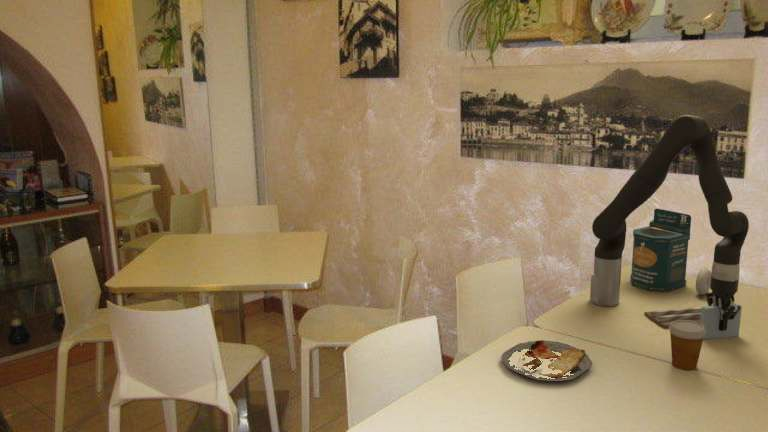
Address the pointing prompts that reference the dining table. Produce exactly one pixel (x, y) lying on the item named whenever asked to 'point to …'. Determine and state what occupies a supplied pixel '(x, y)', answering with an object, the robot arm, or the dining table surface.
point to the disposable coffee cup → (686, 343)
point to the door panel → (711, 323)
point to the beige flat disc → (703, 281)
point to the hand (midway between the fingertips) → (719, 328)
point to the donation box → (661, 252)
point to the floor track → (674, 316)
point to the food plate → (566, 362)
